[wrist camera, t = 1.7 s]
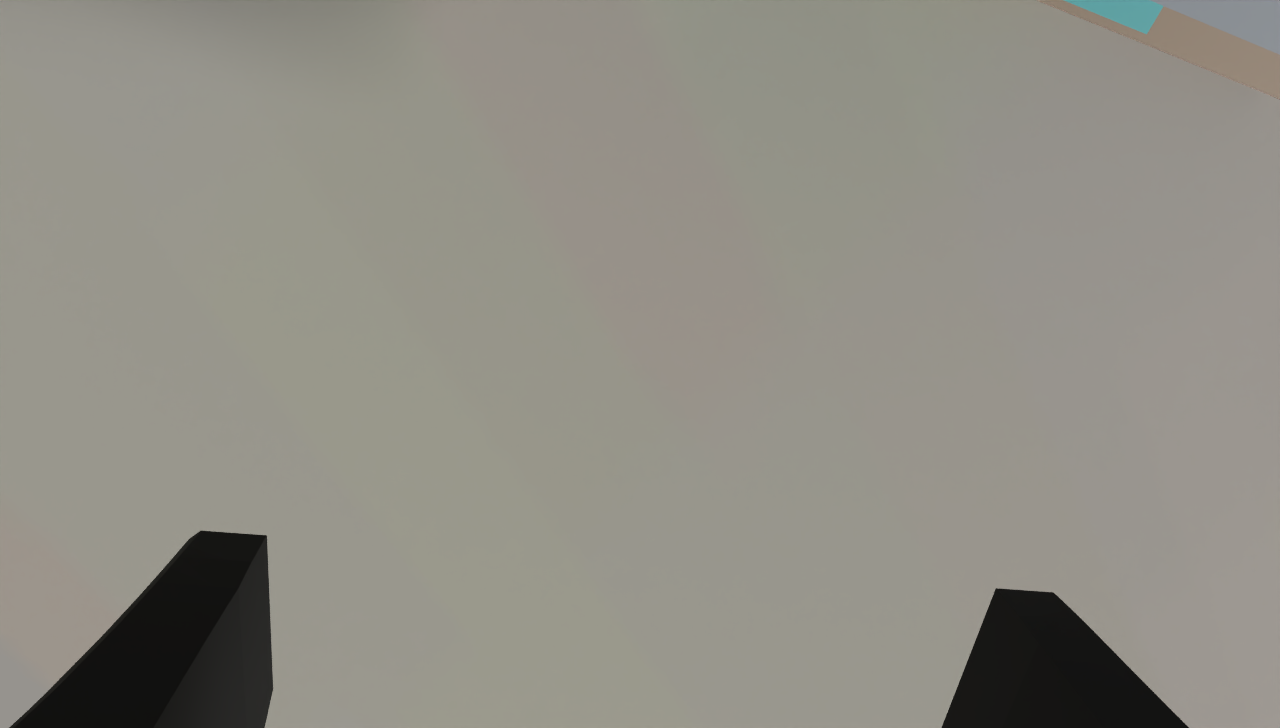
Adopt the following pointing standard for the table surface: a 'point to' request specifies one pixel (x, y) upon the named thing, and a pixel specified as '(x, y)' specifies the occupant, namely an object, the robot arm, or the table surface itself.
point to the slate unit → (1198, 33)
